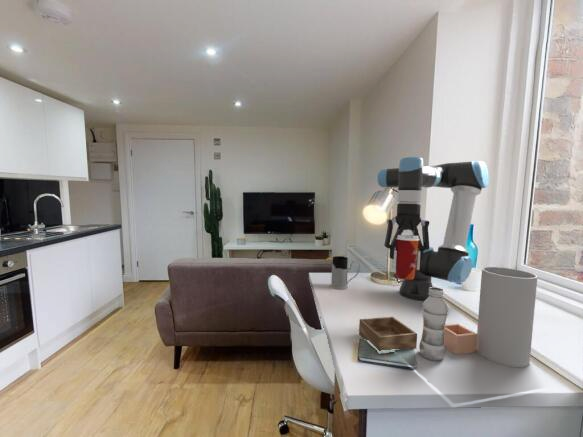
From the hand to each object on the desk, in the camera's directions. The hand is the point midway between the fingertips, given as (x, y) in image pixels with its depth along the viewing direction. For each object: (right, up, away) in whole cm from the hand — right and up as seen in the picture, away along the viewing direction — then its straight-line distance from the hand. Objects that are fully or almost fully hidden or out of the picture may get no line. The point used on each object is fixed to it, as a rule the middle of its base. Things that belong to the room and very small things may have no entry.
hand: (405, 268), depth 99 cm
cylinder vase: (+21, -23, -17) cm, 35 cm away
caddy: (-10, -21, -10) cm, 26 cm away
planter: (+10, -22, -13) cm, 28 cm away
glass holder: (-13, -17, +44) cm, 49 cm away
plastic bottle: (0, -22, -19) cm, 29 cm away
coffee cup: (0, -3, 0) cm, 3 cm away
